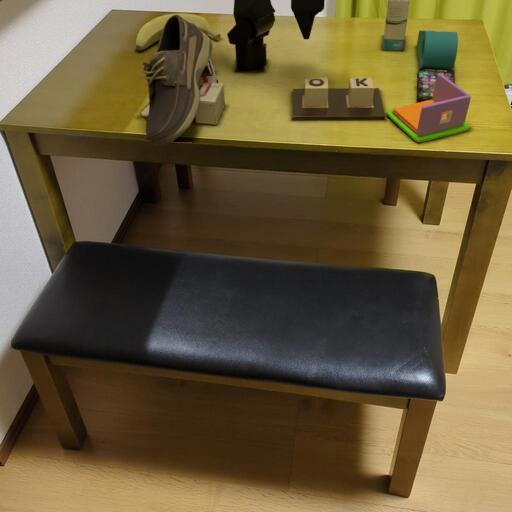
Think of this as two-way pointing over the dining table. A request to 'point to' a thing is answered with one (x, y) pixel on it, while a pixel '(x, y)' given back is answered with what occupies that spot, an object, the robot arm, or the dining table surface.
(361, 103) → the tile
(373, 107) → the word board
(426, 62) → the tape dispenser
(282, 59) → the dining table surface
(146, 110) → the soap
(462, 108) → the miniature room corner
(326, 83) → the tile
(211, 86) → the small box
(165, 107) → the boat shoe
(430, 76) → the smartphone
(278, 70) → the dining table surface
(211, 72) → the toy car
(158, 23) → the banana
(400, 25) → the ink box
